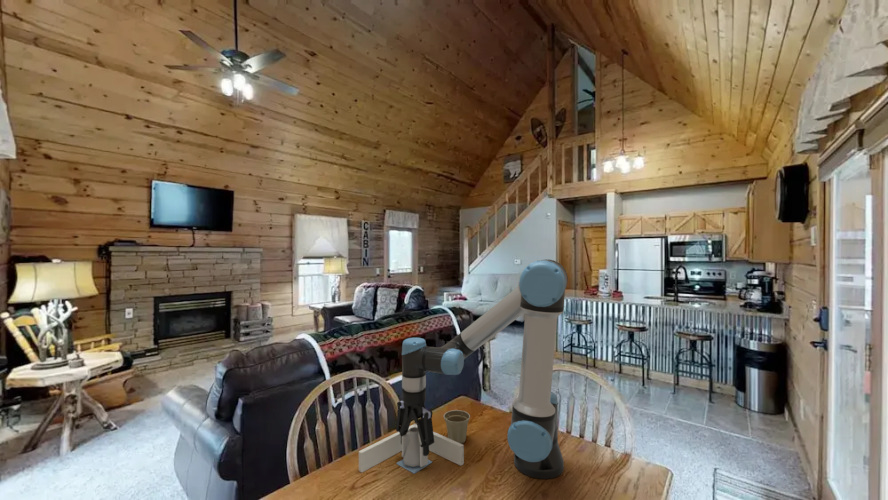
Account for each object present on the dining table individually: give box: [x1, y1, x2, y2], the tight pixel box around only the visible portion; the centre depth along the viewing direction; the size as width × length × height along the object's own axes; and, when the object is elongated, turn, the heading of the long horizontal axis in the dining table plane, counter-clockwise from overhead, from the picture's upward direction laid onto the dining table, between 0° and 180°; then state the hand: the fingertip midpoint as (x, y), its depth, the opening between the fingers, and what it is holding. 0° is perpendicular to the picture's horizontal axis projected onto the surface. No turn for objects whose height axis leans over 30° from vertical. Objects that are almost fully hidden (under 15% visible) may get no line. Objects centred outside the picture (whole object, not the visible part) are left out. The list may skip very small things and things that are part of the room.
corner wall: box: [358, 423, 465, 473], centre depth 117 cm, size 22×24×6 cm
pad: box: [396, 459, 433, 475], centre depth 119 cm, size 8×8×1 cm
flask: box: [402, 427, 420, 467], centre depth 119 cm, size 7×7×10 cm
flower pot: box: [443, 409, 471, 444], centre depth 134 cm, size 9×9×9 cm
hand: (414, 459), depth 119 cm, fingers closed on flask, 8 cm apart
